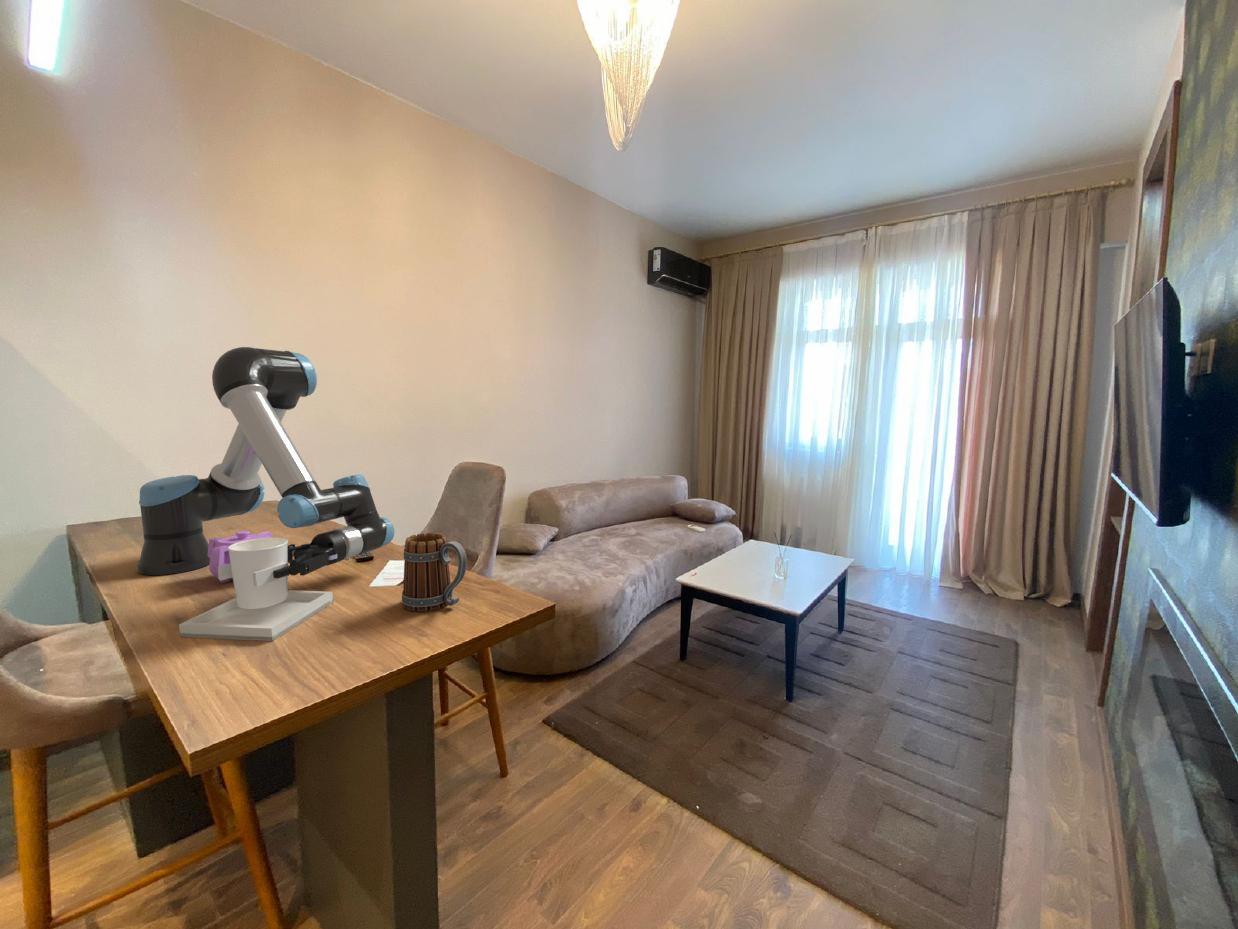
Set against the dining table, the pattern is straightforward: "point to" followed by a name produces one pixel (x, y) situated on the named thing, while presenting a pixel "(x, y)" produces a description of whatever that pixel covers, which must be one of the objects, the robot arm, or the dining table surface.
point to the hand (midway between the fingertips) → (236, 576)
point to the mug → (430, 572)
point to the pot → (220, 549)
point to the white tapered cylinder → (255, 558)
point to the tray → (256, 618)
